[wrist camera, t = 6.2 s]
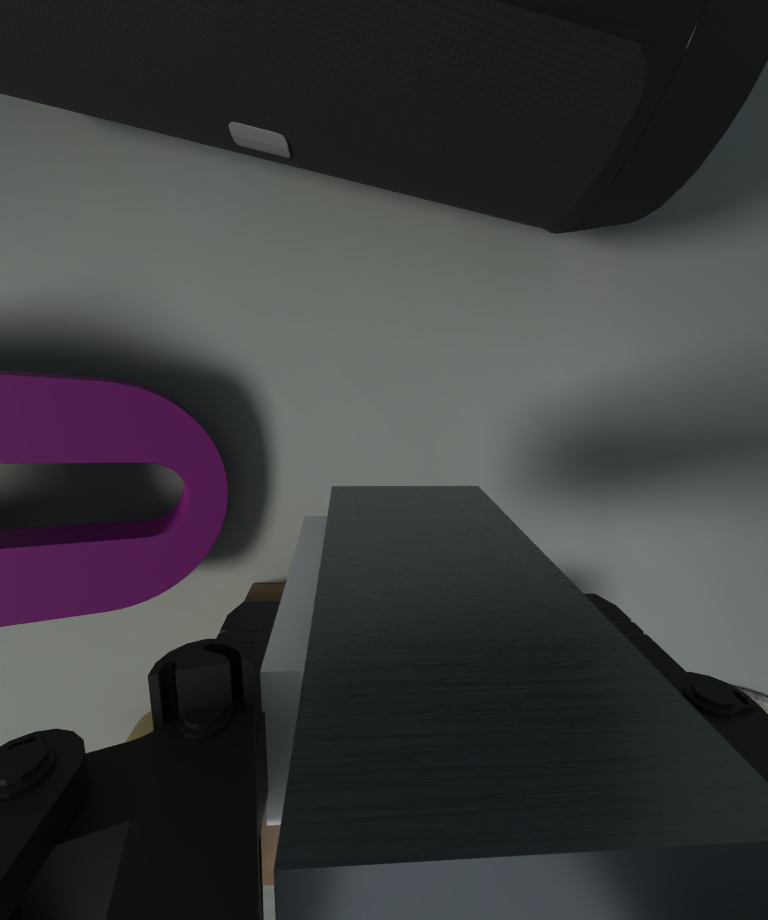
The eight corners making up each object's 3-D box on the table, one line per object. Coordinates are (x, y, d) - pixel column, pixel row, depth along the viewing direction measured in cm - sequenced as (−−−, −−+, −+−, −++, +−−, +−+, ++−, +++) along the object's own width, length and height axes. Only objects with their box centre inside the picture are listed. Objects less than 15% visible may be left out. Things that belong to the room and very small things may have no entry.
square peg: (332, 486, 13) (273, 871, 3) (478, 485, 13) (821, 837, 4) (332, 619, 14) (289, 1229, 4) (469, 617, 14) (724, 1180, 4)
